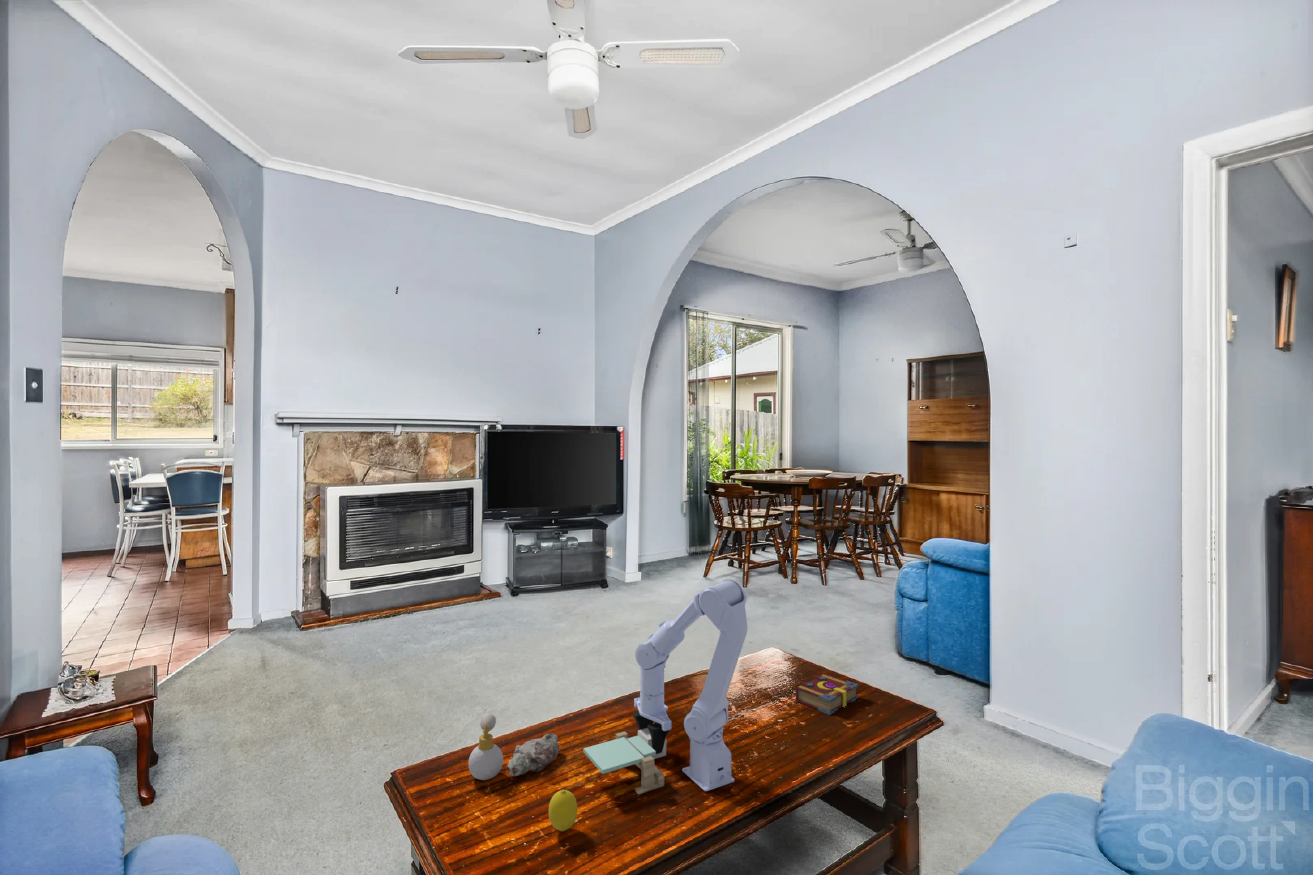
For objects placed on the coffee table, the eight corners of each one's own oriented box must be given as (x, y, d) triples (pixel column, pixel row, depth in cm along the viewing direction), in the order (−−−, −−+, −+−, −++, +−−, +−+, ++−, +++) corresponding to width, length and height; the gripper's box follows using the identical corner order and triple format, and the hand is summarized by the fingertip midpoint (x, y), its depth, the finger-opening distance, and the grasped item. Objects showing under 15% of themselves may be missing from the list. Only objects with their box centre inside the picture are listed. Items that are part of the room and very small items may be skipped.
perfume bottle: (473, 789, 134) (473, 734, 133) (461, 768, 142) (461, 716, 142) (507, 779, 138) (507, 725, 137) (494, 759, 146) (494, 708, 146)
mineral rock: (515, 784, 136) (515, 764, 136) (497, 769, 142) (497, 750, 142) (571, 760, 146) (571, 741, 146) (552, 747, 152) (552, 729, 152)
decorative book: (794, 702, 177) (795, 684, 177) (826, 686, 188) (826, 669, 188) (830, 716, 169) (830, 698, 169) (860, 698, 180) (860, 681, 180)
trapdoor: (659, 763, 137) (659, 753, 137) (603, 781, 130) (603, 770, 130) (636, 742, 146) (636, 732, 146) (582, 757, 139) (582, 747, 139)
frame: (664, 785, 136) (664, 755, 136) (638, 794, 132) (638, 763, 132) (634, 756, 148) (634, 728, 147) (609, 763, 144) (609, 735, 144)
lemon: (578, 821, 123) (578, 781, 123) (575, 840, 118) (576, 798, 118) (550, 821, 123) (550, 781, 123) (546, 840, 118) (546, 798, 118)
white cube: (666, 755, 148) (666, 734, 148) (647, 760, 146) (647, 739, 145) (655, 745, 152) (655, 725, 152) (637, 751, 150) (637, 730, 150)
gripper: (682, 699, 144) (682, 756, 145) (651, 676, 157) (651, 730, 157) (656, 705, 141) (656, 765, 141) (626, 682, 153) (626, 737, 154)
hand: (651, 747), depth 149 cm, fingers closed on white cube, 5 cm apart
